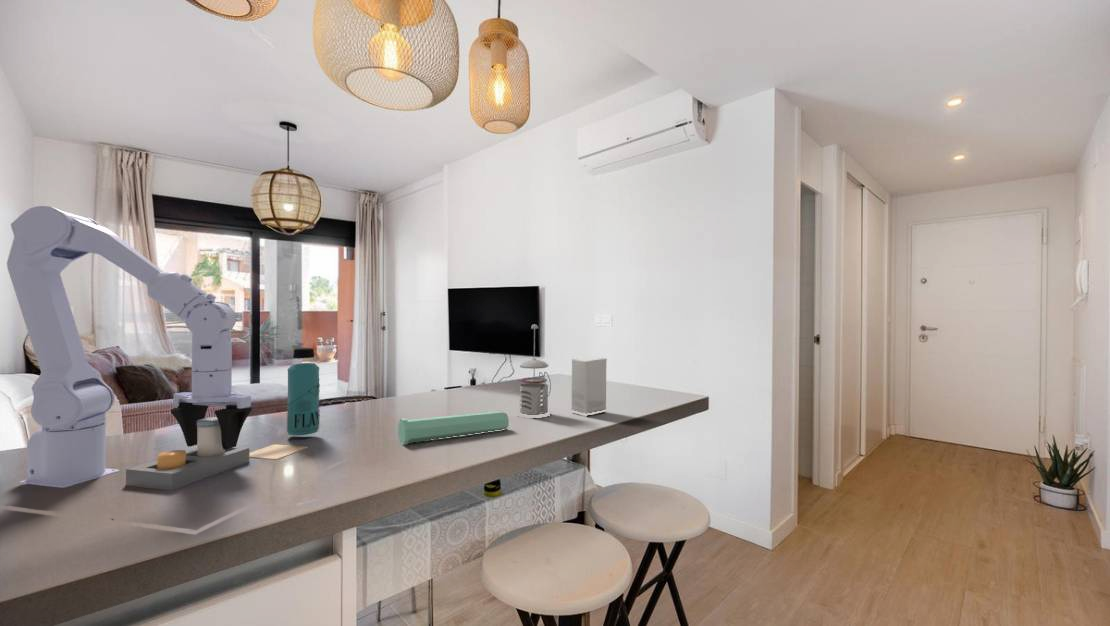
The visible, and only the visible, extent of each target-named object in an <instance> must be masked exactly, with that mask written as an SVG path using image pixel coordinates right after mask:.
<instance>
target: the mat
mask: <svg viewBox="0 0 1110 626" xmlns="http://www.w3.org/2000/svg"><path fill="white" fill-rule="evenodd" d="M305 449H308V446H299V445H291V444H289V445H285V444H276V443H274V444H271V445H269V446H265V447H262V448H260V449H257V450H254V451H251V452H250V451H249V459H259V460H260V459H261V460H272V461H277V460H280V459H284V458H285V457H288V456H290V455H293V454H295V453H298V452H300V451H304V450H305Z"/></svg>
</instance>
